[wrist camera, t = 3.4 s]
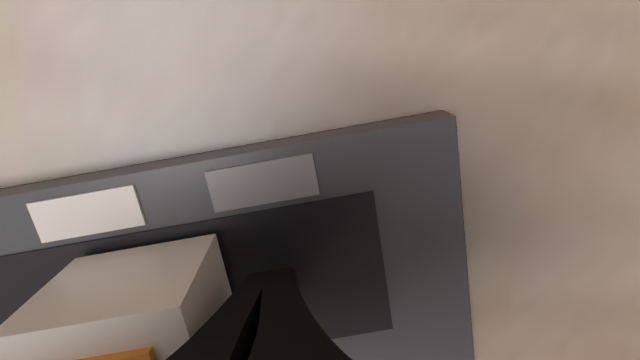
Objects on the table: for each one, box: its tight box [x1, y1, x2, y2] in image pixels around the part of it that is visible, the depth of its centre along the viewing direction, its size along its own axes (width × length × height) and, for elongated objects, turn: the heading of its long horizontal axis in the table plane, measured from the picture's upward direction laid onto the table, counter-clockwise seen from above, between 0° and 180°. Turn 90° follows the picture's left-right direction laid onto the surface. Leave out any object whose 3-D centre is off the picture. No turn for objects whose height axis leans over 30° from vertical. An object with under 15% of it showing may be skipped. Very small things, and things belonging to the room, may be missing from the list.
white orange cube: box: [0, 234, 232, 360], centre depth 10 cm, size 4×4×4 cm
